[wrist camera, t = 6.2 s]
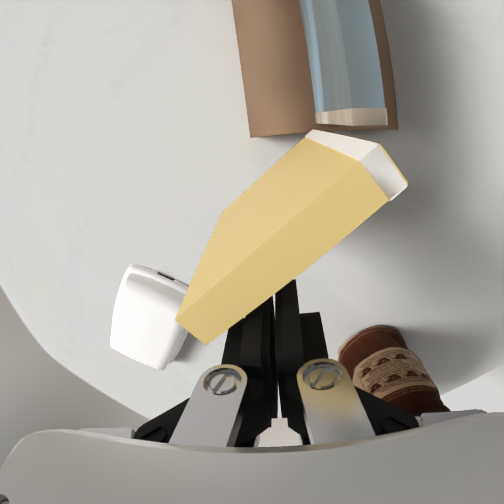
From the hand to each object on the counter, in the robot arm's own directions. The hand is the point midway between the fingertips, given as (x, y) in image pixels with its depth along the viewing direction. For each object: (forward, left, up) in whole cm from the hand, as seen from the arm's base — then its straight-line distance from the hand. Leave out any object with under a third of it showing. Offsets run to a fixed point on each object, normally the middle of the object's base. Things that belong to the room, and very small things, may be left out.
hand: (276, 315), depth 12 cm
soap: (+11, +7, -12) cm, 18 cm away
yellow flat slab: (0, -4, -8) cm, 9 cm away
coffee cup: (-8, +13, -11) cm, 19 cm away
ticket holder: (-4, -13, -11) cm, 18 cm away
